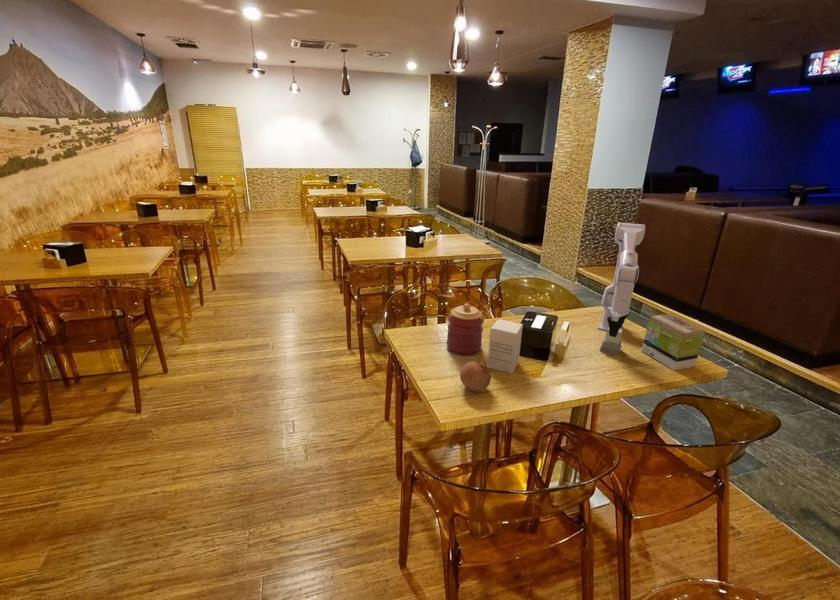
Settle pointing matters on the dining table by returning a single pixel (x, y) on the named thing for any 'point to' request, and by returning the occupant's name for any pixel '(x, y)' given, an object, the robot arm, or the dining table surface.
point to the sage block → (614, 339)
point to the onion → (475, 376)
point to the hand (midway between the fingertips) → (614, 333)
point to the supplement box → (504, 346)
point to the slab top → (611, 345)
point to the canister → (465, 330)
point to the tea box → (673, 341)
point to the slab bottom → (609, 351)
